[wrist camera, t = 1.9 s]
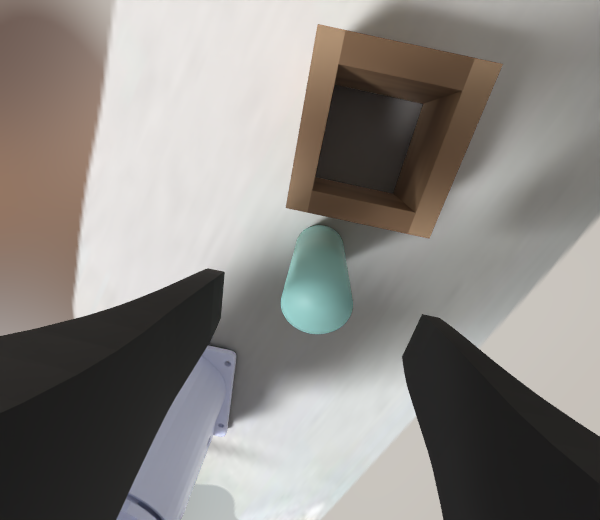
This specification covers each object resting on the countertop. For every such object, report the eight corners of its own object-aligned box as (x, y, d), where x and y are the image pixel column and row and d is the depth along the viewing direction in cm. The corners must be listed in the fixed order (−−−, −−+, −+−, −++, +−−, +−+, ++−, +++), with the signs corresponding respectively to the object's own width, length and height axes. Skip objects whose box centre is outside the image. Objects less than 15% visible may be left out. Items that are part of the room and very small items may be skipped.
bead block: (403, 213, 15) (429, 238, 11) (295, 190, 15) (285, 207, 11) (450, 85, 12) (502, 64, 9) (320, 57, 12) (317, 23, 9)
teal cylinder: (336, 273, 17) (342, 340, 11) (291, 264, 17) (275, 326, 11) (349, 230, 15) (362, 282, 10) (300, 220, 15) (287, 266, 10)
